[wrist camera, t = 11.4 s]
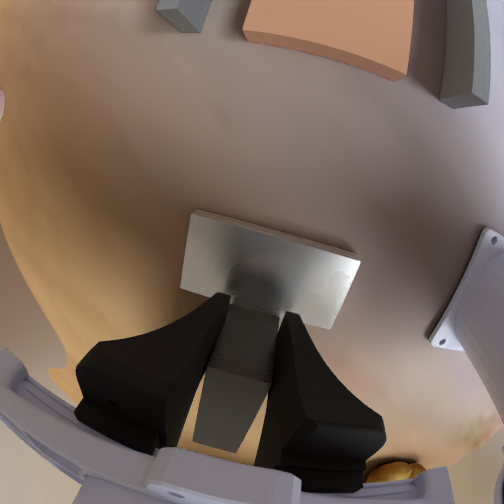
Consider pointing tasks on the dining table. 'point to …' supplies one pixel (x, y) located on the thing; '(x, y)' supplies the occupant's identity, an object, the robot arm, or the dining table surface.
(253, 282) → the turner
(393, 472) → the bread roll
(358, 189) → the dining table surface
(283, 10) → the tile
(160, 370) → the robot arm
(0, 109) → the smoothie
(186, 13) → the frame
